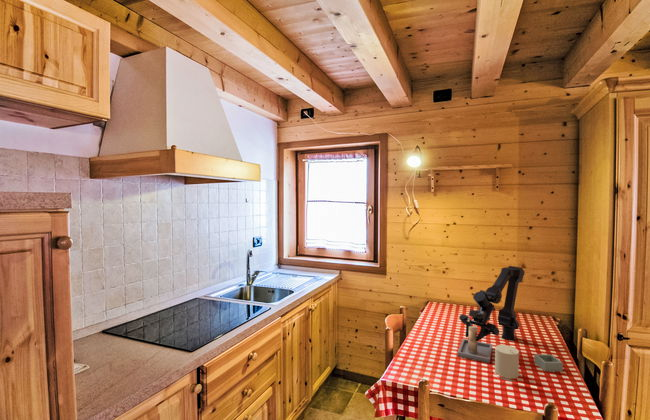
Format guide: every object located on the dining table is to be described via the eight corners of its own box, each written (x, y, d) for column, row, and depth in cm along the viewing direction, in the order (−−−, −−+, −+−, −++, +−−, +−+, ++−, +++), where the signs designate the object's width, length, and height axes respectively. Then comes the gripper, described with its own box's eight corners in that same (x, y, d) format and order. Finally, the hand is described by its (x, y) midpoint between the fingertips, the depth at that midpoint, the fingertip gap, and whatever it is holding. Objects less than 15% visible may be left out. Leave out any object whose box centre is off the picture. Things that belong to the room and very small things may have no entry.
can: (506, 382, 138) (506, 354, 137) (489, 371, 146) (490, 345, 146) (524, 379, 140) (524, 351, 140) (506, 368, 149) (507, 342, 149)
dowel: (474, 350, 166) (474, 326, 166) (478, 353, 162) (479, 328, 162) (466, 350, 166) (467, 326, 166) (470, 353, 162) (471, 328, 162)
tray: (462, 342, 176) (462, 338, 176) (492, 348, 169) (492, 344, 169) (457, 356, 161) (457, 352, 161) (489, 363, 154) (489, 359, 154)
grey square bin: (534, 365, 152) (534, 354, 152) (551, 365, 152) (551, 354, 152) (544, 373, 145) (544, 362, 144) (562, 374, 144) (562, 362, 144)
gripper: (461, 298, 173) (447, 324, 167) (496, 308, 157) (482, 336, 152) (470, 310, 177) (457, 335, 172) (505, 321, 162) (492, 349, 156)
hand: (471, 338), depth 163 cm, fingers open, 5 cm apart
